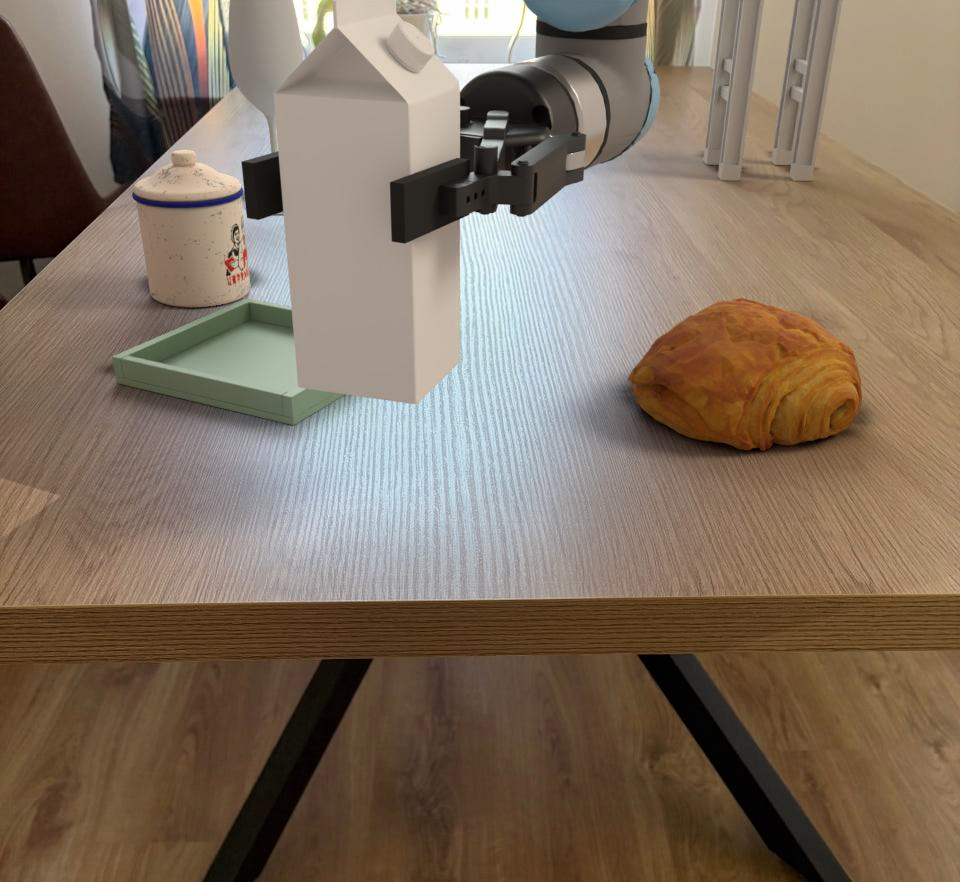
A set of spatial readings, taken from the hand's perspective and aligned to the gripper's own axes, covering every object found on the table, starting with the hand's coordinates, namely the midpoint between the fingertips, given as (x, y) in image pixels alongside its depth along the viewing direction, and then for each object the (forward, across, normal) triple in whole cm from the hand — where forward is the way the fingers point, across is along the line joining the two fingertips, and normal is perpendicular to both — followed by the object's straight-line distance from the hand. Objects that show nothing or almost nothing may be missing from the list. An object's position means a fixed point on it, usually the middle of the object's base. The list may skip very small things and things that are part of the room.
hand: (321, 201), depth 55 cm
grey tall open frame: (-104, +6, -17) cm, 106 cm away
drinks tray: (-17, +18, -17) cm, 30 cm away
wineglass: (-58, +47, -18) cm, 77 cm away
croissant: (-26, -15, -17) cm, 35 cm away
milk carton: (-5, 0, -11) cm, 12 cm away
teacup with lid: (-30, +35, -18) cm, 49 cm away
